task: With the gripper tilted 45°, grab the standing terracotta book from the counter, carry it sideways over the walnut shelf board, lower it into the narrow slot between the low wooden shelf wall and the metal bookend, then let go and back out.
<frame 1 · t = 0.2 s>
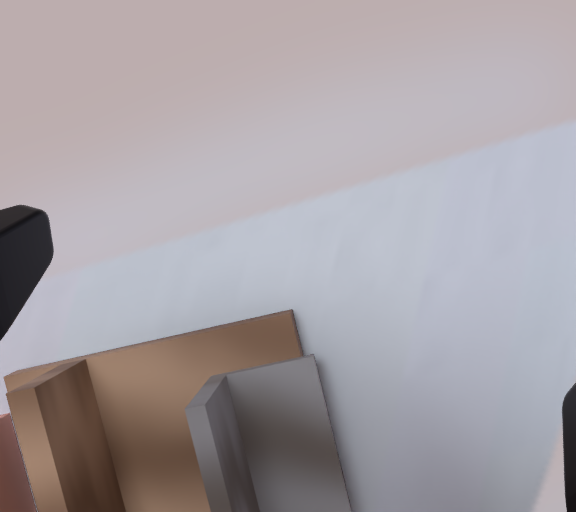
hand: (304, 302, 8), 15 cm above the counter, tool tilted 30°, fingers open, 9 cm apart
book rack: (180, 460, 24), on the counter
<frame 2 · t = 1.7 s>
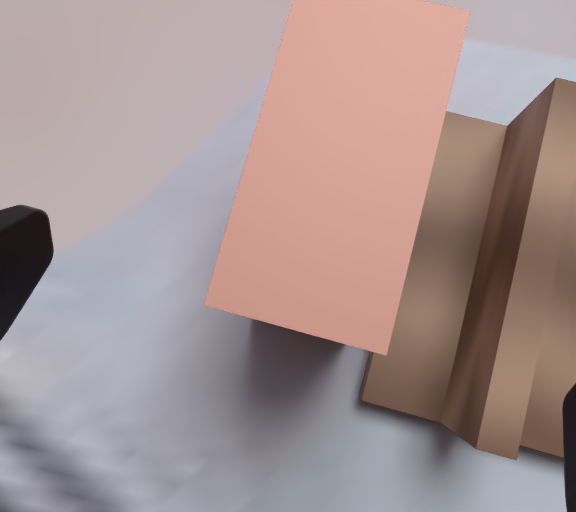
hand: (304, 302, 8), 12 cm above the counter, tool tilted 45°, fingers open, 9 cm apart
book: (324, 234, 21), on the counter
book rack: (564, 297, 20), on the counter
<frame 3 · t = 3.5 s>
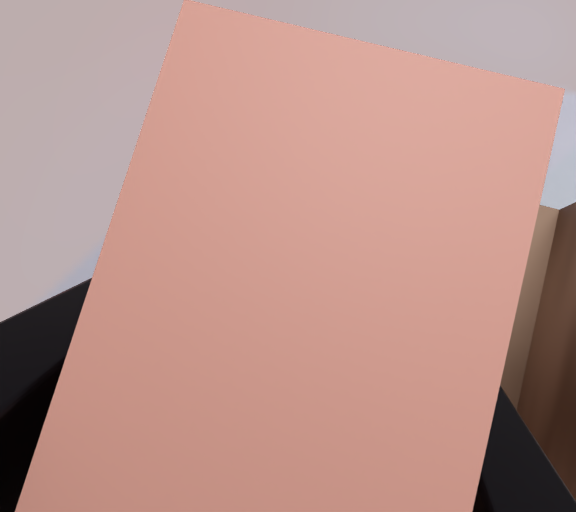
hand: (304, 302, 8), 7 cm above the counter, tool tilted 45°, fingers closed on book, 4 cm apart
book: (292, 360, 15), on the counter, touching gripper
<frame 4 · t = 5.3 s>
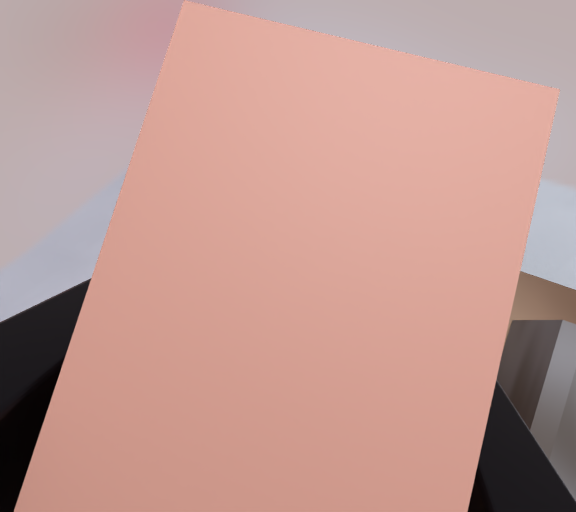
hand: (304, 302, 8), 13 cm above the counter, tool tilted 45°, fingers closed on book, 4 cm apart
book: (291, 360, 15), point 7 cm above the counter, touching gripper
book rack: (409, 388, 21), on the counter
when the fingers open (8 cm above the counter, at t = 7.1 s): book stays where it is, resting on book rack.
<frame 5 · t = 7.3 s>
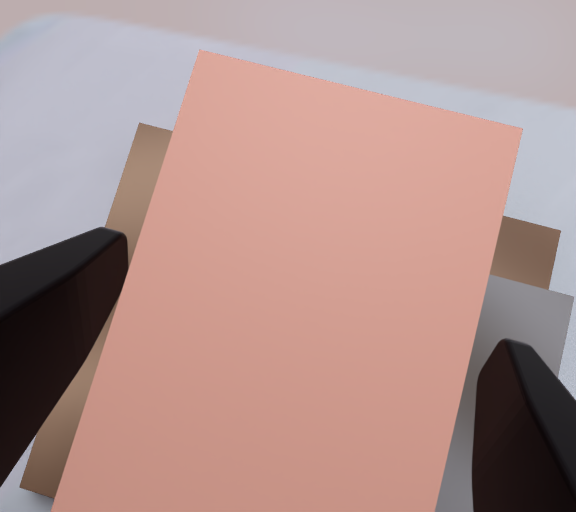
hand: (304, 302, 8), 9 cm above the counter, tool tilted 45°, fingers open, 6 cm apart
book: (292, 358, 15), point 1 cm above the counter, touching book rack
book rack: (294, 355, 16), on the counter
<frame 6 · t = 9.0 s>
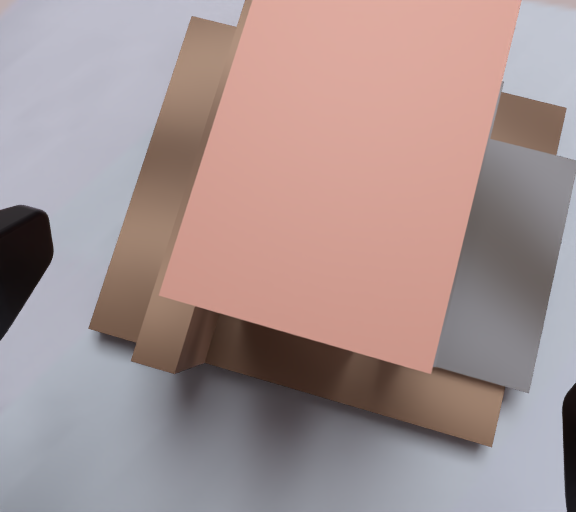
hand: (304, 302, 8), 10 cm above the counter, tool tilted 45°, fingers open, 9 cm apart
book: (330, 218, 17), point 1 cm above the counter, touching book rack
book rack: (329, 222, 18), on the counter
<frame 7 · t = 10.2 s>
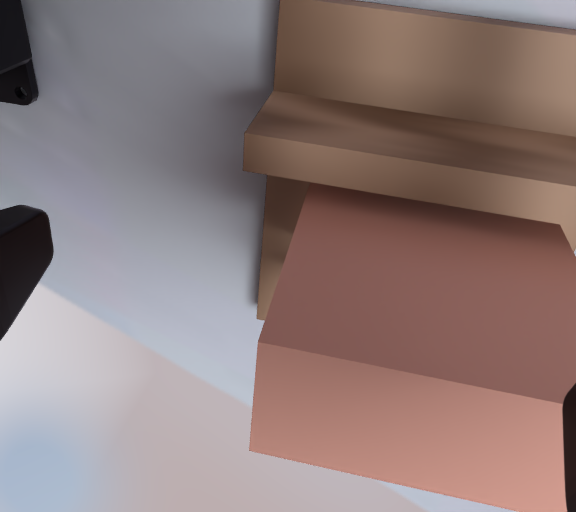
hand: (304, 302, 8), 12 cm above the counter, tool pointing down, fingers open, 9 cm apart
book: (415, 216, 19), point 1 cm above the counter, touching book rack
book rack: (416, 204, 20), on the counter
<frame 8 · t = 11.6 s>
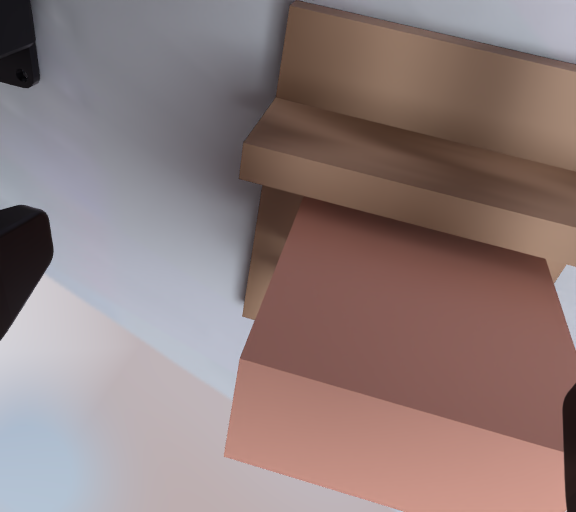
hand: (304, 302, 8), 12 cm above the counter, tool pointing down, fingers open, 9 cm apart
book: (406, 231, 20), point 1 cm above the counter, touching book rack
book rack: (408, 219, 20), on the counter
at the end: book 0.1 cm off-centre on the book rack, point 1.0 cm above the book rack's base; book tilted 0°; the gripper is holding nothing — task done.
